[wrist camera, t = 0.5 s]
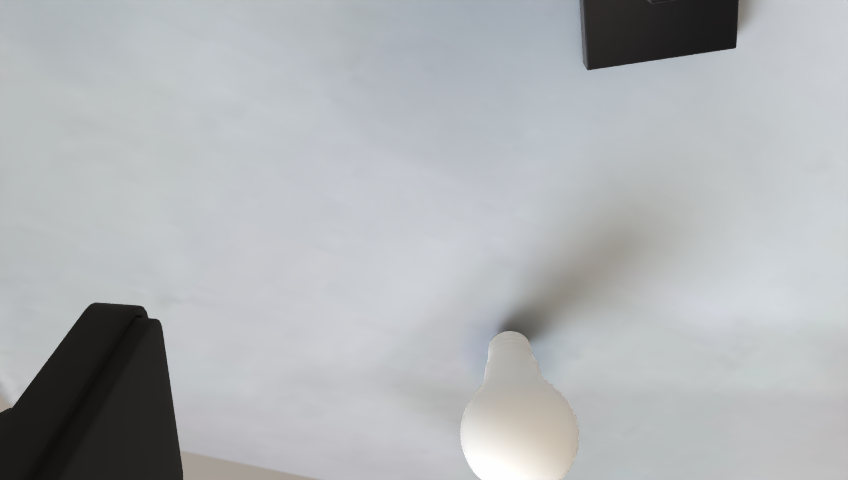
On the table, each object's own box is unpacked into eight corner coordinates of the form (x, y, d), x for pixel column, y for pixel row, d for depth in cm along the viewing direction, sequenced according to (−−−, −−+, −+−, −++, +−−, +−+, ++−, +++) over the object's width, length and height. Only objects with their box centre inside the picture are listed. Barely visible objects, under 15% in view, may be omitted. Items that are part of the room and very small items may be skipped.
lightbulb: (540, 386, 46) (564, 531, 37) (447, 366, 46) (447, 509, 36) (572, 310, 43) (606, 447, 34) (473, 289, 43) (480, 422, 33)
